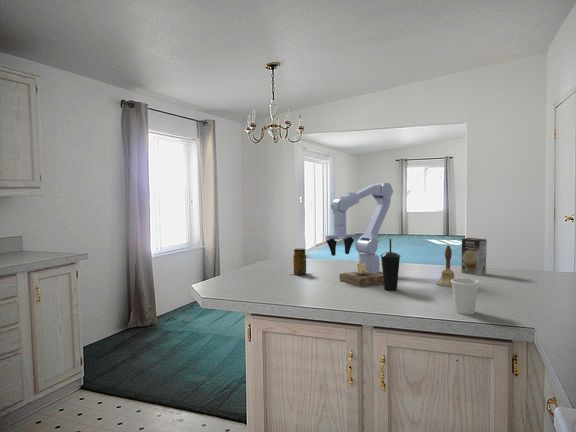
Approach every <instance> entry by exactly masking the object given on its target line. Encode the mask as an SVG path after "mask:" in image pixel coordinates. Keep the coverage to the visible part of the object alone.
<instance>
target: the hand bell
mask: <svg viewBox="0 0 576 432" xmlns="http://www.w3.org/2000/svg"><path fill="white" fill-rule="evenodd" d="M452 253H453V252H452V249H451V245H447V246H446V247H445V251H444V257H445V269H443V270H442V272H441V277H440V279H439V280H438V281H437V282H436V284H437V285H438V286H443V287H452V282H451V280H452V279H456V277H455V272H454V271H453V270H451V259H452Z"/></svg>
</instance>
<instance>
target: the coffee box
mask: <svg viewBox="0 0 576 432" xmlns="http://www.w3.org/2000/svg"><path fill="white" fill-rule="evenodd" d="M487 242H488V241H487V239H486V238H476V237H466V238H461V267H460V268H461V273H462V274H468V275H473V276H474V275H475V276H482V275H486V274H487V244H488V243H487Z"/></svg>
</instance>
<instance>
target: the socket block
mask: <svg viewBox="0 0 576 432" xmlns="http://www.w3.org/2000/svg"><path fill="white" fill-rule="evenodd" d="M356 271H357V272H355V271H352V272H351V271H350V272H343V273H339V281H341V282H344V283H346V284H349V285H350V284H351V285H353V286H357V287H365V286H372V285H378V284H384V280H383V273H382V274H381V273H373V272H369V271H366V276H359V275H358V270H356Z"/></svg>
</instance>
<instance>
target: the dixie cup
mask: <svg viewBox="0 0 576 432" xmlns="http://www.w3.org/2000/svg"><path fill="white" fill-rule="evenodd" d="M451 282H452V286H451V287H452V296H453V303H454V304H453V305H454V311H455V313H458V314H461V315H473V314H475V311H476V304H477V298H478V297H477V296H478V291H479V290H478V289H479V285H480V281H479V280H477V279H474V278H463V277H459V278H456V277H455V279H452V280H451Z"/></svg>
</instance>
